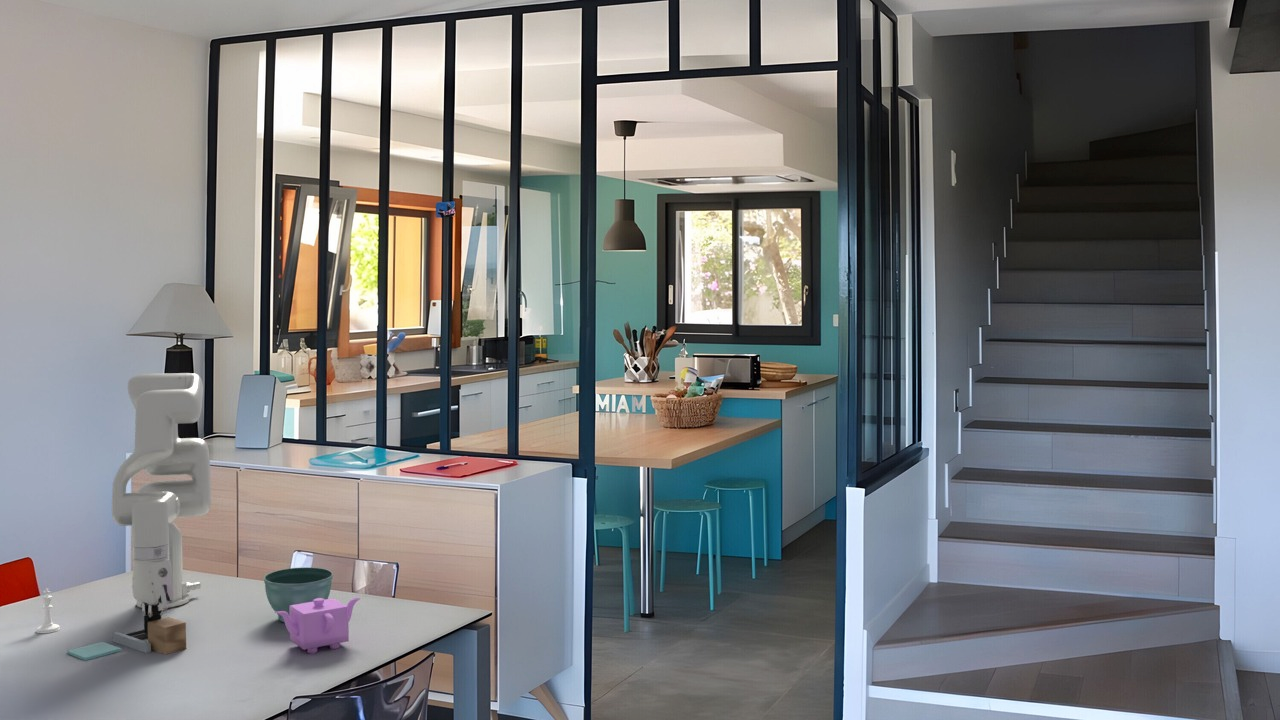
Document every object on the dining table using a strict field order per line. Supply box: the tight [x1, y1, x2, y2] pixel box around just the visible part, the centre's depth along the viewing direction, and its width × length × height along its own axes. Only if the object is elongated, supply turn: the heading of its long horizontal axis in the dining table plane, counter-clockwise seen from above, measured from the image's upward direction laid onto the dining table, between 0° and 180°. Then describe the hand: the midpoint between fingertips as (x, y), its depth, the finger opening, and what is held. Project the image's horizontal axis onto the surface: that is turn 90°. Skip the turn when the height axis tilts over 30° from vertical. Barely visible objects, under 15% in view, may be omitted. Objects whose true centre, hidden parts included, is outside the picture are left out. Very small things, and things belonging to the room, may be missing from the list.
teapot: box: [274, 597, 362, 654], centre depth 244 cm, size 15×13×11 cm
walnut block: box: [147, 616, 187, 655], centre depth 243 cm, size 5×7×6 cm
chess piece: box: [36, 588, 61, 634], centre depth 256 cm, size 5×5×10 cm
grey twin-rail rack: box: [112, 629, 152, 654], centre depth 247 cm, size 9×14×2 cm, turn 54°
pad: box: [66, 641, 122, 661], centre depth 240 cm, size 8×8×1 cm
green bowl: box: [263, 566, 334, 623], centre depth 266 cm, size 16×16×11 cm
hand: (152, 632), depth 246 cm, fingers closed
